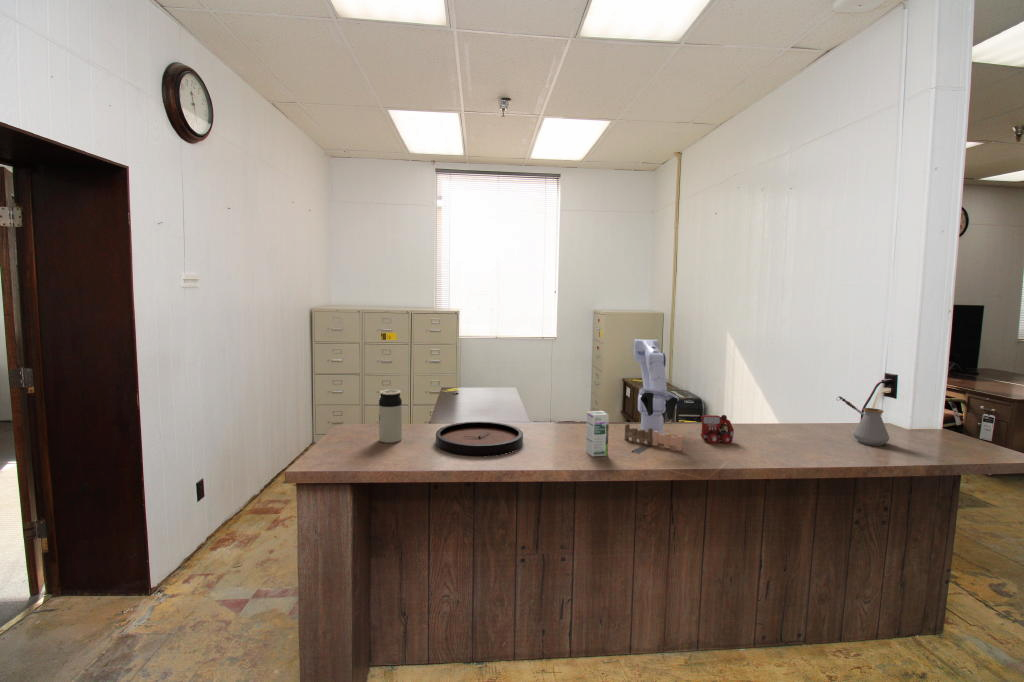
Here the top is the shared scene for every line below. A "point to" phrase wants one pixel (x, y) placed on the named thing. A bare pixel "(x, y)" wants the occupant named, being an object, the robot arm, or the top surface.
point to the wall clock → (479, 439)
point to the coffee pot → (870, 426)
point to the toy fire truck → (716, 429)
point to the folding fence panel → (667, 440)
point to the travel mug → (390, 416)
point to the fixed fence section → (638, 434)
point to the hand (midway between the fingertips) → (660, 416)
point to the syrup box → (597, 433)
